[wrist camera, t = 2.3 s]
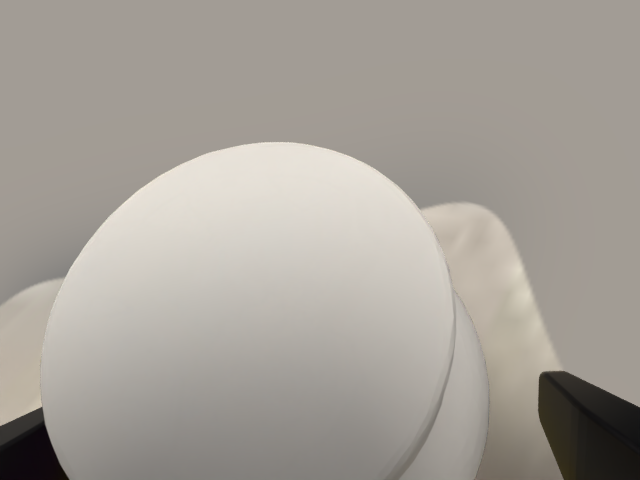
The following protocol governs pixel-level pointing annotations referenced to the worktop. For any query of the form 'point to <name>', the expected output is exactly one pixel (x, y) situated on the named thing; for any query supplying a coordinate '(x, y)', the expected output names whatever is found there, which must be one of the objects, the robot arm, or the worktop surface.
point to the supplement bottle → (264, 331)
